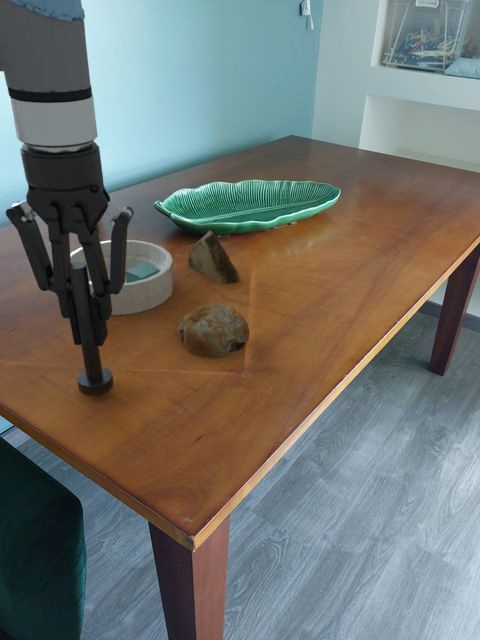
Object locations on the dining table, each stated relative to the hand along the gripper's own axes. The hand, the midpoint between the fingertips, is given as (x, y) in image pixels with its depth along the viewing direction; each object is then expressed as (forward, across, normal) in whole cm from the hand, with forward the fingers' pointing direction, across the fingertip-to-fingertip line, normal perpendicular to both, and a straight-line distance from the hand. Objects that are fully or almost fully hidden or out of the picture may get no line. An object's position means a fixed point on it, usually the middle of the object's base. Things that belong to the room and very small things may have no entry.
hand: (91, 339), depth 66 cm
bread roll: (+8, -14, -12) cm, 20 cm away
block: (+7, -1, -26) cm, 26 cm away
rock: (+8, -12, -34) cm, 37 cm away
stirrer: (+7, 0, +1) cm, 7 cm away
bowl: (+8, +3, -26) cm, 27 cm away
